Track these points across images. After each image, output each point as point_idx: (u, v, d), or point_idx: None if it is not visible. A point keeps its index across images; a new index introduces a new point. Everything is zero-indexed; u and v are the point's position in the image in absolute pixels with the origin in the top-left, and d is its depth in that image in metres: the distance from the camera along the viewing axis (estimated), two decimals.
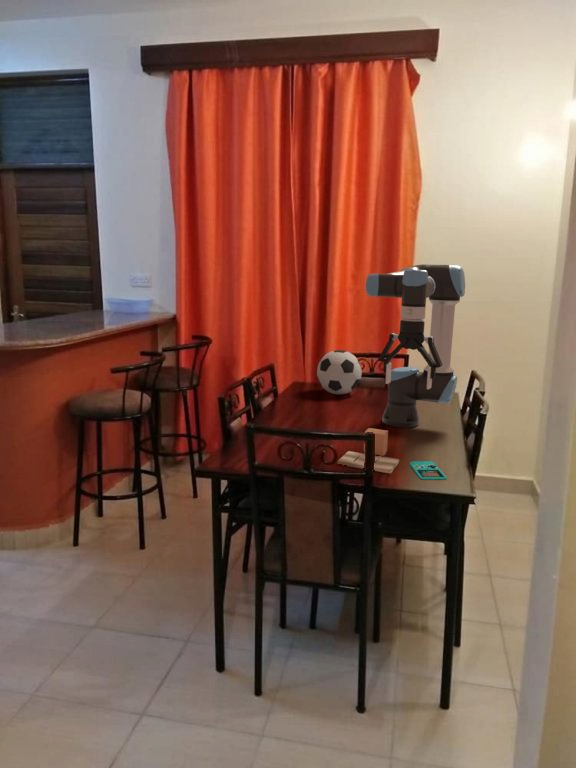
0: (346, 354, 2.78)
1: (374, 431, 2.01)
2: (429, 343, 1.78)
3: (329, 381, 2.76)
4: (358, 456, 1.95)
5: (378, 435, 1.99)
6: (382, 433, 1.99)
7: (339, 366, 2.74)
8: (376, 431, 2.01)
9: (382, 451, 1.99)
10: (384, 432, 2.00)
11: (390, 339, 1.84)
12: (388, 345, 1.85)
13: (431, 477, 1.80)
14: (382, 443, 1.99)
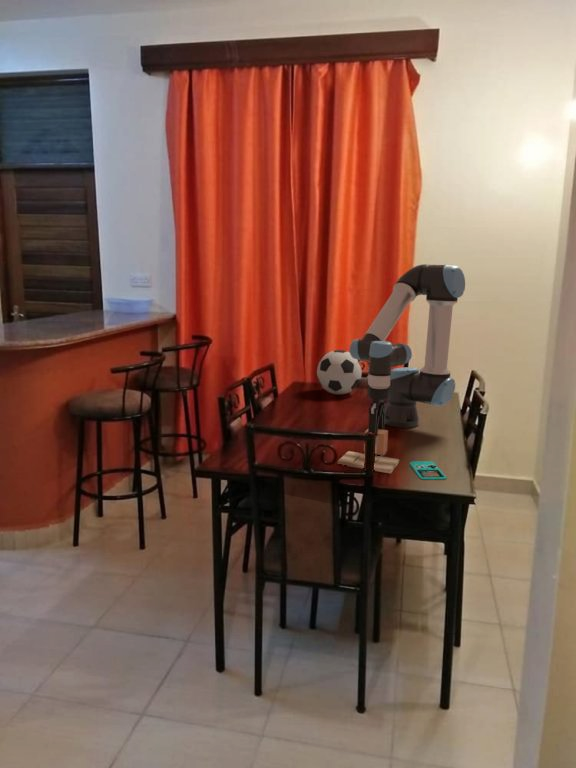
0: (346, 354, 2.78)
1: None
2: None
3: (329, 381, 2.76)
4: (358, 456, 1.95)
5: (378, 435, 1.99)
6: (382, 433, 1.99)
7: (339, 366, 2.74)
8: None
9: (382, 451, 1.99)
10: (384, 432, 2.00)
11: None
12: None
13: (431, 477, 1.80)
14: (382, 443, 1.99)
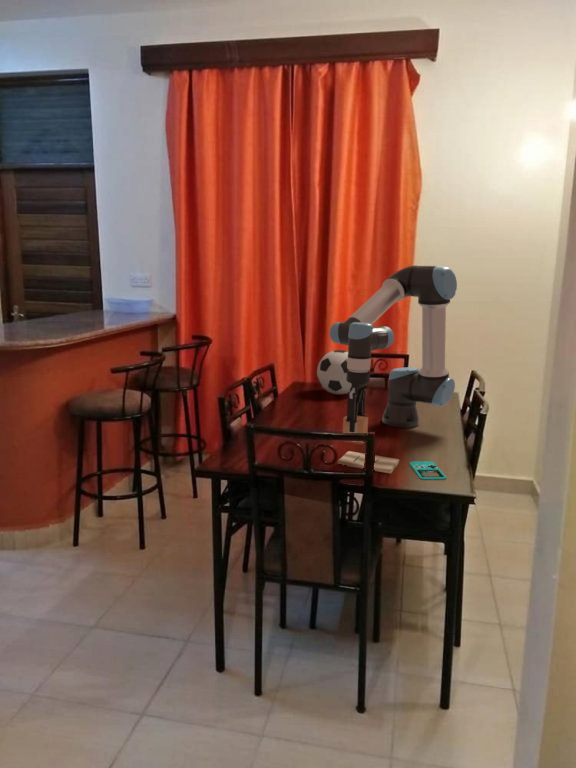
0: (346, 354, 2.78)
1: None
2: None
3: (329, 381, 2.76)
4: (358, 456, 1.95)
5: (358, 422, 1.88)
6: (362, 419, 1.89)
7: (339, 366, 2.74)
8: None
9: None
10: (364, 418, 1.90)
11: None
12: None
13: (431, 477, 1.80)
14: (361, 430, 1.88)
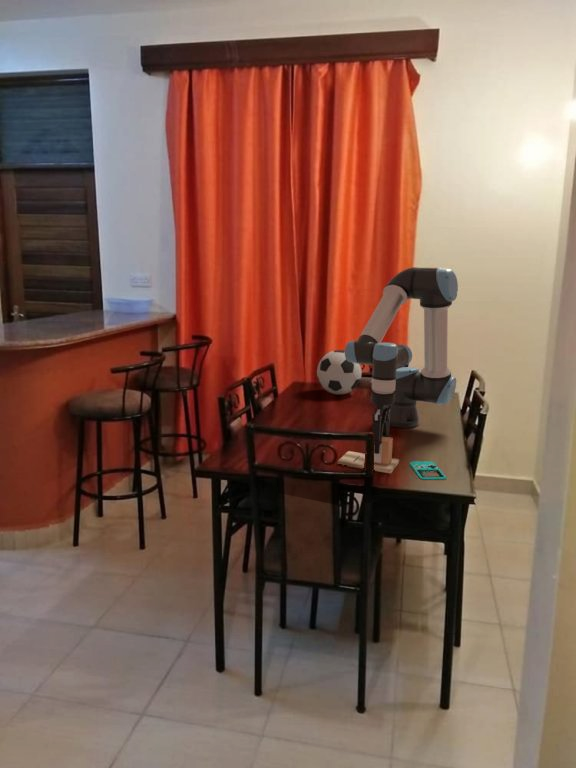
0: None
1: None
2: None
3: (329, 381, 2.76)
4: (358, 456, 1.95)
5: (382, 443, 1.86)
6: (386, 441, 1.87)
7: (339, 366, 2.74)
8: None
9: (386, 460, 1.87)
10: (388, 439, 1.88)
11: None
12: None
13: (431, 477, 1.80)
14: (386, 451, 1.86)
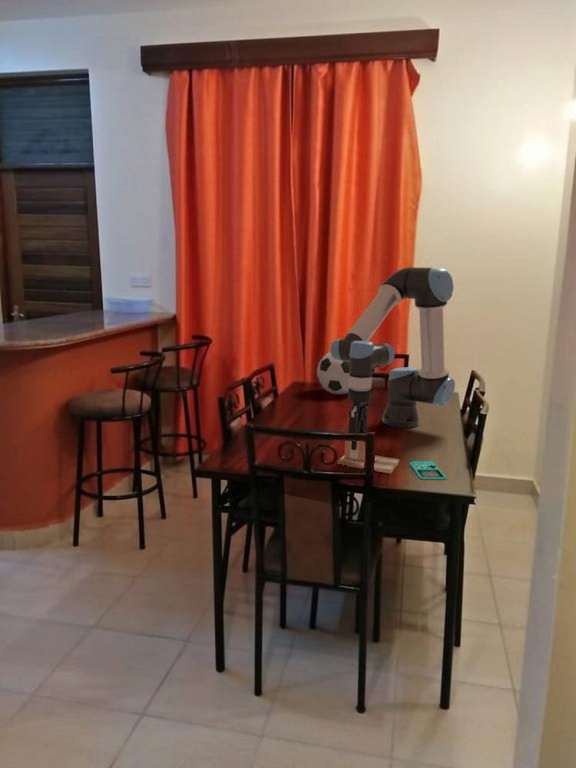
0: None
1: None
2: None
3: (329, 381, 2.76)
4: None
5: None
6: None
7: (339, 366, 2.74)
8: None
9: (363, 456, 1.90)
10: None
11: None
12: None
13: (431, 477, 1.80)
14: (363, 448, 1.89)
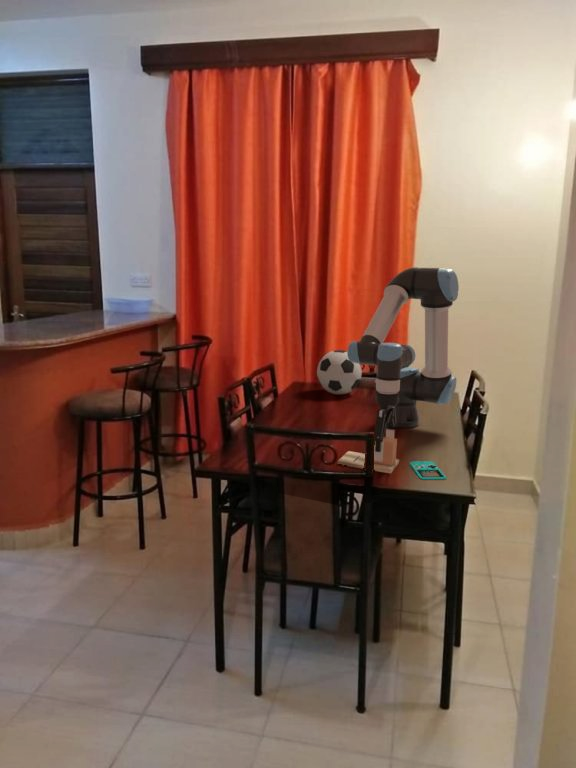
0: (346, 354, 2.78)
1: None
2: None
3: (329, 381, 2.76)
4: (358, 456, 1.95)
5: (387, 444, 1.86)
6: (391, 441, 1.86)
7: (339, 366, 2.74)
8: (384, 439, 1.88)
9: (391, 461, 1.86)
10: (393, 440, 1.87)
11: None
12: None
13: (431, 477, 1.80)
14: (391, 452, 1.86)
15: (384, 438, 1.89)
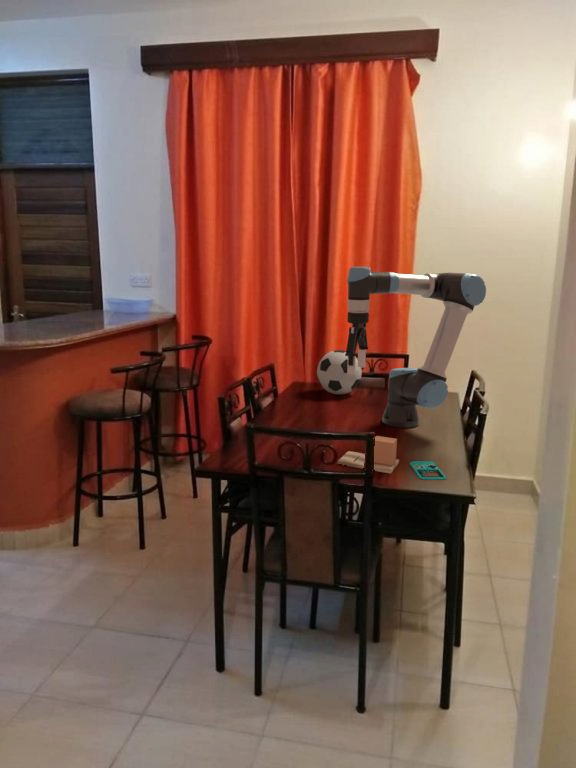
0: None
1: (382, 439, 1.88)
2: None
3: (329, 381, 2.76)
4: (358, 456, 1.95)
5: (387, 444, 1.86)
6: (391, 441, 1.86)
7: (339, 366, 2.74)
8: (384, 439, 1.88)
9: (391, 461, 1.86)
10: (393, 440, 1.87)
11: None
12: None
13: (431, 477, 1.80)
14: (391, 452, 1.86)
15: (384, 438, 1.89)
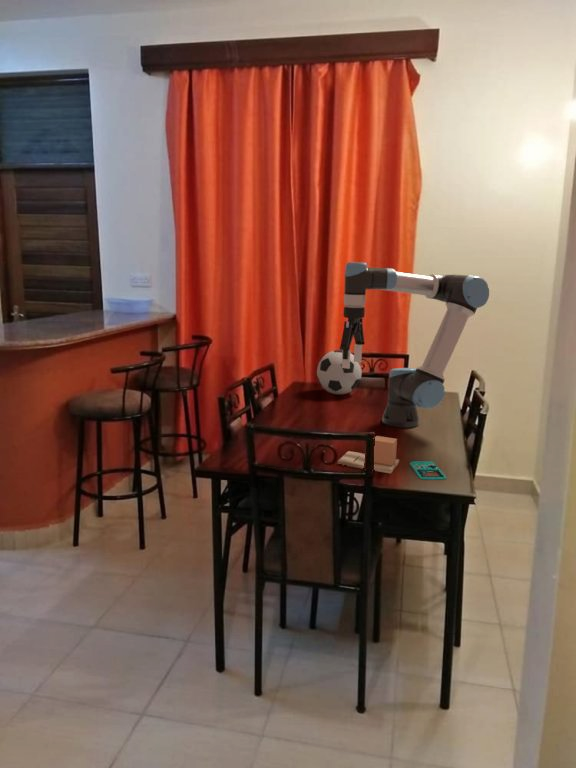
0: None
1: (382, 439, 1.88)
2: None
3: (329, 381, 2.76)
4: (358, 456, 1.95)
5: (387, 444, 1.86)
6: (391, 441, 1.86)
7: (339, 366, 2.74)
8: (384, 439, 1.88)
9: (391, 461, 1.86)
10: (393, 440, 1.87)
11: None
12: None
13: (431, 477, 1.80)
14: (391, 452, 1.86)
15: (384, 438, 1.89)
